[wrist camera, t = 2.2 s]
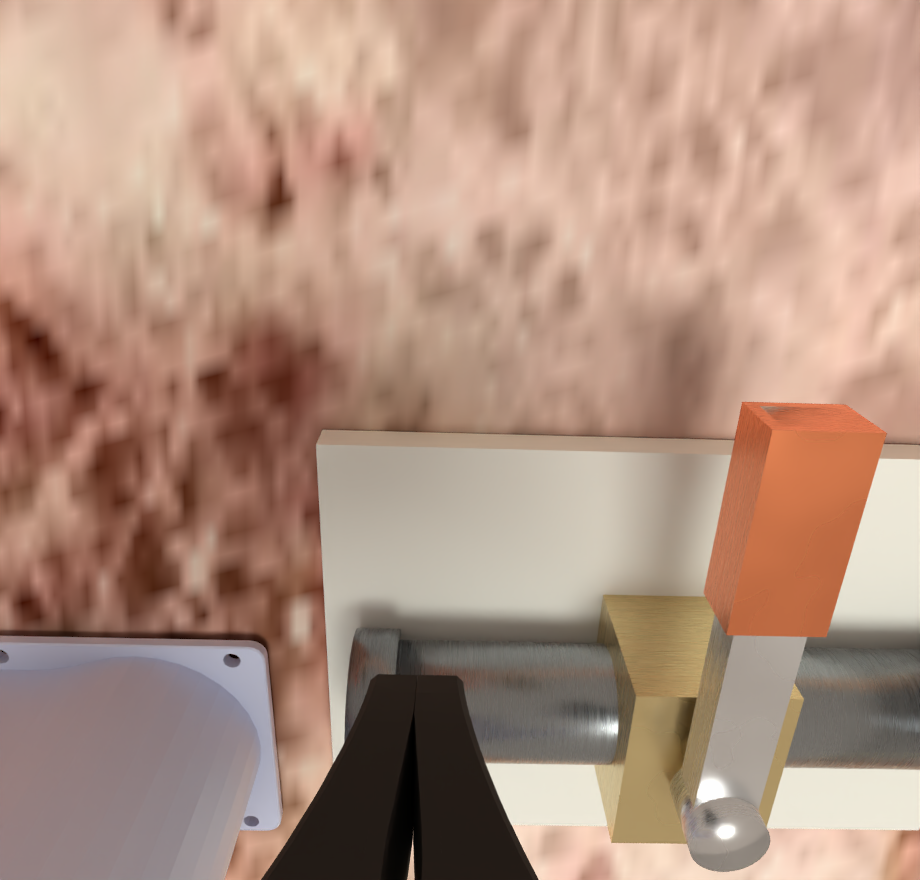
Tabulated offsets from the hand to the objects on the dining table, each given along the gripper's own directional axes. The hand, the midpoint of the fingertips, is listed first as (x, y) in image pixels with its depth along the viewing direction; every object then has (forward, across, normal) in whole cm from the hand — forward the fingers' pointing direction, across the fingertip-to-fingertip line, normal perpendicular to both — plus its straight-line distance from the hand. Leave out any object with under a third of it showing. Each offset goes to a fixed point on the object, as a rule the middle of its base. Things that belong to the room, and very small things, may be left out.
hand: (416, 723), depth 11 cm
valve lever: (+4, -7, +1) cm, 8 cm away
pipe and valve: (+9, -7, +6) cm, 13 cm away
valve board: (+9, -7, +6) cm, 13 cm away
